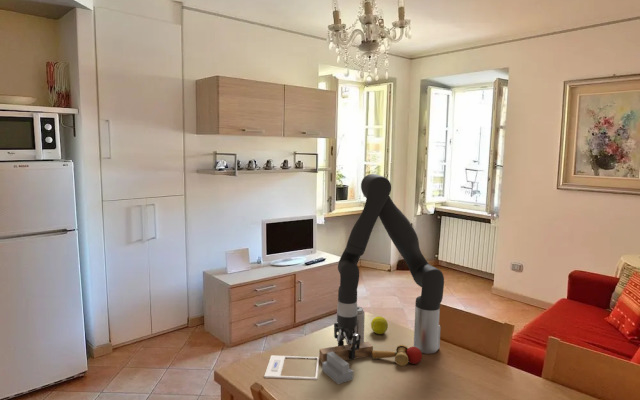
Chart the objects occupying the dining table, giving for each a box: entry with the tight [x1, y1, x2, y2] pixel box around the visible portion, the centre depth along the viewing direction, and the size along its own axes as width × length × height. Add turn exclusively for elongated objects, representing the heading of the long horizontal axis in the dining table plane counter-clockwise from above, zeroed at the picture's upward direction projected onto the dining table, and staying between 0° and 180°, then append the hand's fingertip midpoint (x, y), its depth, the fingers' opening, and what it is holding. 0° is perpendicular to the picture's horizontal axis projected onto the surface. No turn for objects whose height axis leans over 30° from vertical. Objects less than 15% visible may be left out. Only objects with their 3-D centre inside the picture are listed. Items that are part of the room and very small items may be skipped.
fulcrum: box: [321, 352, 354, 385], centre depth 147 cm, size 6×10×6 cm, turn 31°
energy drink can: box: [349, 306, 366, 344], centre depth 169 cm, size 6×6×15 cm
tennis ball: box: [370, 316, 389, 335], centre depth 180 cm, size 7×7×7 cm
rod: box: [318, 341, 374, 363], centre depth 160 cm, size 20×4×4 cm, turn 109°
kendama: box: [372, 344, 423, 367], centre depth 157 cm, size 8×6×18 cm
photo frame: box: [263, 354, 320, 381], centre depth 152 cm, size 15×1×18 cm
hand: (346, 354), depth 160 cm, fingers open, 6 cm apart
